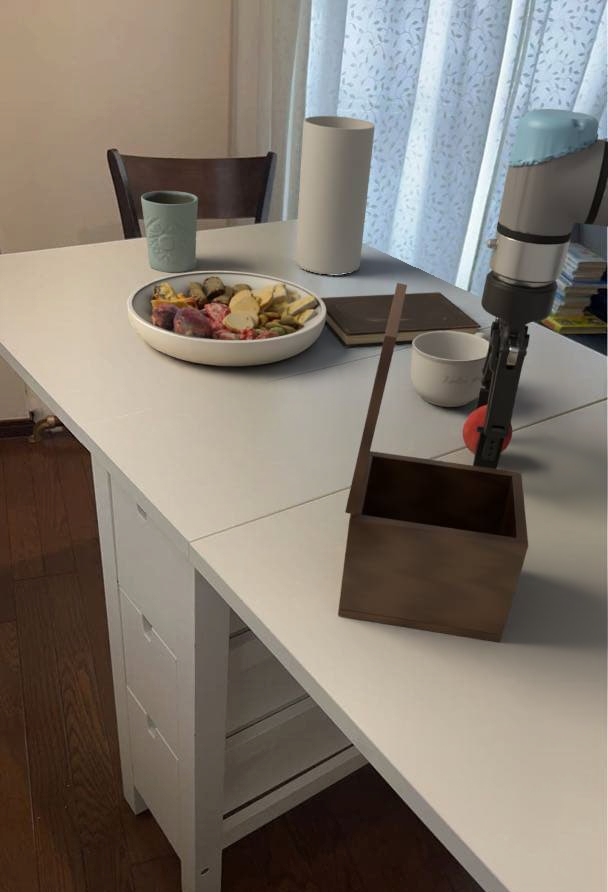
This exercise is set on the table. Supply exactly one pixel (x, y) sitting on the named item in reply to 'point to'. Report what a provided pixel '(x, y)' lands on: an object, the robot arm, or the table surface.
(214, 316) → the bowl
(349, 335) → the hardcover book
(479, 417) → the onion
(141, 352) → the table surface
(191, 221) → the green embossed cup
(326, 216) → the cylinder vase
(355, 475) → the lid
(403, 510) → the box
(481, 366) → the teacup
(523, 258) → the robot arm
